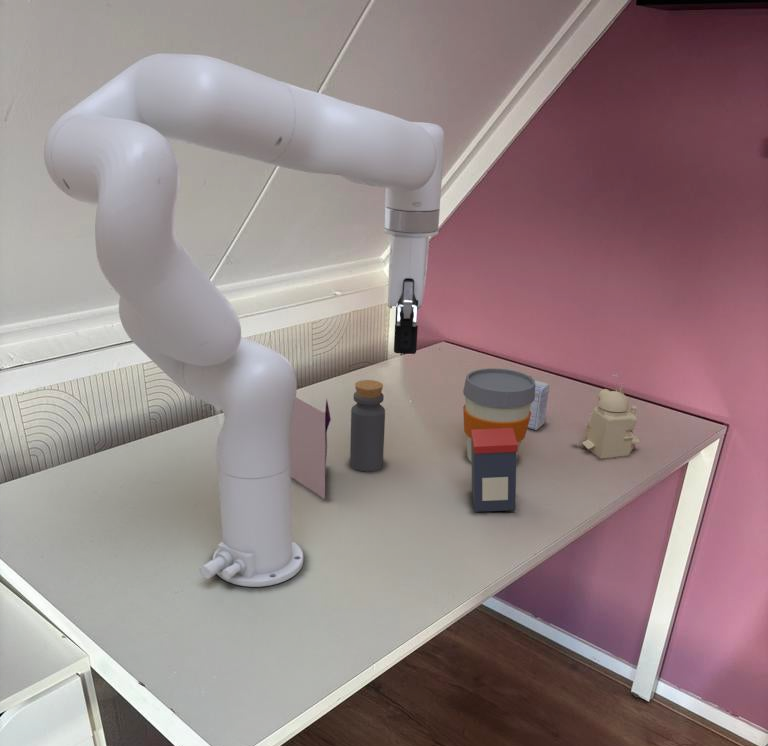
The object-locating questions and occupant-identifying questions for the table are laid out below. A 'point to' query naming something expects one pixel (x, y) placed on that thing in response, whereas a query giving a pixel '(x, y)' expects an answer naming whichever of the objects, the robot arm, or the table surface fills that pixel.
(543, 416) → the medicine box
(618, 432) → the robot
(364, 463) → the bottle
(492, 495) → the red-lidded grey box
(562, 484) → the table surface
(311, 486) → the greeting card
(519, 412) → the reusable coffee cup
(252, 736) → the table surface
